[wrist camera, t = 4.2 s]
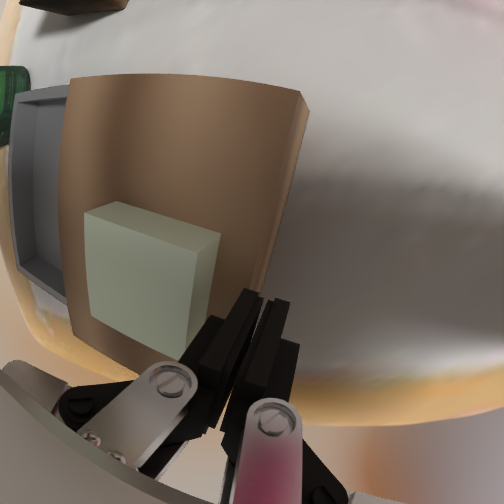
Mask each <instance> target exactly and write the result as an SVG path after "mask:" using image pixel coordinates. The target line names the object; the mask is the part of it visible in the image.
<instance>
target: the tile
mask: <svg viewBox="0 0 504 504" xmlns="http://www.w3.org/2000/svg"><path fill="white" fill-rule="evenodd" d="M220 237H221V233H218V232H215V231H212V230H208V229H205V228H202V227H199V226H196V225H192V224H189V223H186V222H183V221H180V220H176V219H173V218H170V217H167V216H164V215H160V214H157V213H154V212H151V211H147V210H144V209H141V208H138V207H135V206H131V205H128V204H125V203H121V202H118V201H115V202H112V203H109V204H106V205H104V206H101V207H98V208H95V209H92V210H90V211H87V212H84V239H85V261H86V275H87V286H88V296H89V304H90V312H91V316H93V317H94V318H96V319H98V320H99V321H101V322H103V323H105V324H106V325H108V326H110V327H112V328H114V329H115V330H117V331H119V332H121V333H123V334H125V335H126V336H128V337H130V338H132V339H134V340H136V341H138V342H140V343H142V344H144V345H146V346H148V347H150V348H152V349H154V350H156V351H158V352H160V353H162V354H165V355H167V356H169V357H171V358H173V359H175V360H178V361H179V359H180V358H181V356H182V355H183V353H184V352H185V351H186V349H187V348H188V346H189V345H190V343H191V342H192V340H193V339H194V338H195V336H196V335H197V333H198V332H199V330H200V329H201V327H202V326H203V325H204V323H205V319H206V313H207V307H208V302H209V296H210V290H211V285H212V279H213V274H214V268H215V263H216V258H217V252H218V247H219V242H220Z"/></svg>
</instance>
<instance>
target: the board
mask: <svg viewBox="0 0 504 504" xmlns="http://www.w3.org/2000/svg"><path fill="white" fill-rule="evenodd" d="M309 112H310V111H309V109H308V107H307V105H306V103H305V101H304V99H303V97H302V95H301V93H300V91H297V90H292V89H288V88H283V87H278V86H273V85H268V84H262V83H256V82H250V81H243V80H236V79H228V78H219V77H209V76H197V75H181V74H118V75H103V76H92V77H82V78H74V79H71V80H70V84H69V89H68V95H67V100H66V106H65V112H64V119H63V127H62V135H61V145H60V157H59V175H58V223H59V241H60V254H61V264H62V272H63V280H64V287H65V294H66V300H67V306H68V311H69V316H70V321H71V326H72V331H73V335H74V336H76V337H77V338H79V339H80V340H82V341H83V342H85V343H86V344H88V345H90V346H91V347H93V348H94V349H96V350H97V351H99V352H101V353H102V354H104V355H106V356H107V357H109V358H111V359H112V360H114V361H116V362H117V363H119V364H121V365H123V366H124V367H126V368H128V369H130V370H132V371H134V372H135V373H137V374H139V375H141V374H142V373H143V372H144V371H146V370H147V369H148V368H149V367H150V366H152V365H153V364H155V363H158V362H162V361H172V362H178V360H175V359H173V358H171V357H169V356H167V355H165V354H162V353H160V352H158V351H156V350H154V349H152V348H150V347H148V346H146V345H144V344H142V343H140V342H138V341H136V340H134V339H132V338H130V337H128V336H126V335H125V334H123V333H121V332H119V331H117V330H115V329H114V328H112V327H110V326H108V325H106V324H105V323H103V322H101V321H99V320H98V319H96V318H94V317H93V316H91V312H90V304H89V296H88V286H87V275H86V261H85V239H84V212H87V211H90V210H92V209H95V208H98V207H101V206H104V205H106V204H109V203H112V202H115V201H118V202H121V203H125V204H128V205H131V206H135V207H138V208H141V209H144V210H147V211H151V212H154V213H157V214H160V215H164V216H167V217H170V218H173V219H176V220H180V221H183V222H186V223H189V224H192V225H196V226H199V227H202V228H205V229H208V230H212V231H215V232H218V233H221V237H220V242H219V247H218V252H217V258H216V263H215V268H214V274H213V279H212V285H211V290H210V296H209V302H208V307H207V313H206V319H205V322H206V320H207V319H208V317H209V316H210V315H214V316H217V317H220V318H222V319H226V317H227V316H228V314H229V312H230V311H231V309H232V307H233V306H234V304H235V302H236V301H237V299H238V297H239V296H240V294H241V292H242V290H243V289H244V288H247V289H250V290H253V291H256V292H259V296H260V293H261V289H262V286H263V282H264V279H265V275H266V272H267V268H268V265H269V261H270V258H271V254H272V251H273V247H274V244H275V240H276V236H277V233H278V229H279V226H280V222H281V218H282V215H283V211H284V207H285V204H286V200H287V196H288V193H289V189H290V185H291V181H292V178H293V174H294V170H295V166H296V162H297V159H298V155H299V151H300V147H301V143H302V139H303V135H304V132H305V128H306V124H307V120H308V116H309ZM259 296H258V297H259Z"/></svg>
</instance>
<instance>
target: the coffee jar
mask: <svg viewBox="0 0 504 504" xmlns="http://www.w3.org/2000/svg"><path fill="white" fill-rule="evenodd" d="M25 91H30V83H29V78H28V72H27V69H26V68H25V67H23V66H0V147H2V146H4V145H6V144H7V143H9V141H10V129H11V120H12V112H13V105H14V98H15V94H16V93H21V92H25Z"/></svg>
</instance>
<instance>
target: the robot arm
mask: <svg viewBox="0 0 504 504" xmlns="http://www.w3.org/2000/svg"><path fill="white" fill-rule="evenodd" d="M258 296H259V292H256V291H253V290H250V289H247V288H244V289H243V290H242V292H241V294H240V296H239V297H238V299H237V301H236V302H235V304H234V306H233V307H232V309H231V311H230V312H229V314H228V316H227V317H226V319H222V318H220V317H217V316H214V315H210V316H209V317H208V319H207V320H206V322H205V323H204V325H203V326H202V327H201V329H200V330H199V332H198V333H197V335H196V336H195V338H194V339H193V340H192V342H191V343H190V345H189V346H188V348H187V349H186V351H185V352H184V353H183V355H182V356H181V358H180V359H179V361H178V362H172V361H162V362H158V363H155V364H153V365H152V366H150V367H149V368H148V369H147V370H146V371H144V372H143V373H142V374H141V375H140V376H139V377H138V378H137V379H136V380H131V381H124V382H116V383H107V384H98V385H87V386H77V387H70V386H68V383H67V382H65V381H63V380H61V379H58V378H56V377H54V376H52V375H50V374H48V373H46V372H44V371H42V370H40V369H38V368H36V367H34V366H32V365H30V364H28V363H27V362H24V361H21V360H13V361H11V362H9V363H7V364H6V365H5V366H4V368H3V369H2V370H1V369H0V504H214V503H211V502H208V501H205V500H202V499H199V498H196V497H194V496H191V495H189V494H186V493H183V492H181V491H179V490H176V489H174V488H171V487H169V486H167V485H164V484H163V483H160V482H158V480H159V479H160V478H161V477H162V476H163V474H164V473H165V472H166V471H167V469H168V468H169V467H170V466H171V464H172V463H173V462H174V460H175V459H176V458H177V457H178V456H179V454H180V453H181V452H182V451H183V449H184V448H185V446H186V445H187V444H188V442H189V440H192V439H195V438H199V437H201V436H202V434H206V432H207V429H208V427H211V428H214V429H215V427H216V425H217V423H218V420H219V417H220V416H221V413H222V411H223V409H224V407H225V405H226V402H227V400H228V398H229V395H230V393H231V396H230V399H229V402H228V405H227V408H226V412H225V415H224V418H223V421H222V424H221V427H220V431H222V432H225V434H224V437H223V440H222V443H221V446H222V447H223V449H224V451H225V452H226V454H227V455H228V458H227V462H226V467H225V472H224V477H223V482H222V487H221V493H220V497H219V502H218V504H406V503H401V502H396V501H391V500H387V499H383V498H379V497H375V496H371V495H368V494H364V493H361V492H357V491H355V492H354V493H352V492H349V491H346V490H345V488H344V487H343V485H342V484H341V483H340V482H339V481H338V480H337V479H336V477H335V476H334V475H333V474H332V473H331V472H330V471H329V469H328V468H327V467H326V466H325V465H324V464H323V463H322V461H321V460H320V459H319V458H318V457H317V455H316V454H315V453H314V452H313V451H312V450H311V448H310V447H309V446H308V445H307V443H306V442H305V441H304V440H303V438H302V419H301V416H300V414H299V412H298V410H297V409H296V408H295V407H294V406H292V405H291V404H290V403H288V402H289V398H290V393H291V388H292V383H293V379H294V374H295V369H296V363H297V358H298V353H299V347H300V344H298V343H294V342H291V341H288V340H285V339H282V338H281V335H282V332H283V328H284V324H285V320H286V317H287V313H288V309H289V305H290V302H287V301H284V300H281V299H278V298H275V300H274V301H270V300H268V302H267V304H266V307H265V309H264V312H263V314H262V317H261V319H260V322H259V324H258V326H257V329H256V331H255V334H254V336H253V333H254V329H255V326H256V323H257V320H258V316H259V313H260V310H261V306H262V303H263V299H264V298H261V297H258ZM252 336H253V339H252ZM251 339H252V341H251ZM250 342H251V343H250ZM231 391H232V392H231Z"/></svg>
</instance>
